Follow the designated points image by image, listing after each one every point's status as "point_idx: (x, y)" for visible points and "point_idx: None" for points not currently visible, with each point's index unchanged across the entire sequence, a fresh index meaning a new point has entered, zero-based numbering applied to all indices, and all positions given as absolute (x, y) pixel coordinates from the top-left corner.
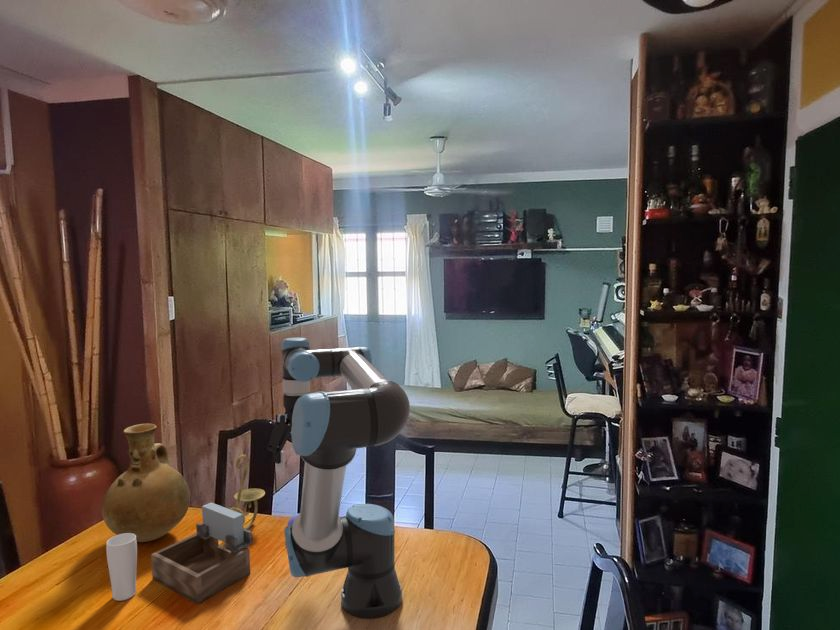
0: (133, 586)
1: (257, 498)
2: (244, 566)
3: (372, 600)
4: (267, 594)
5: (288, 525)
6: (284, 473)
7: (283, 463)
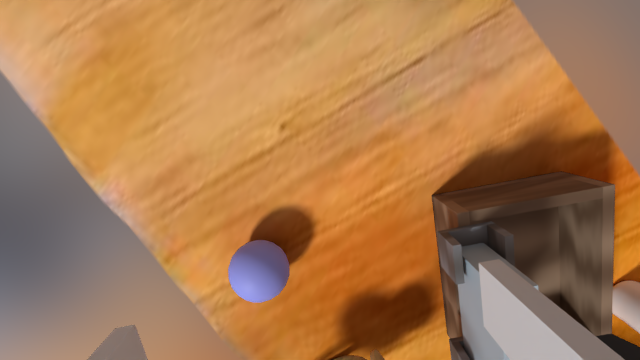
0: (635, 292)
1: None
2: (457, 199)
3: None
4: (454, 96)
5: (287, 279)
6: (486, 265)
7: (555, 316)
